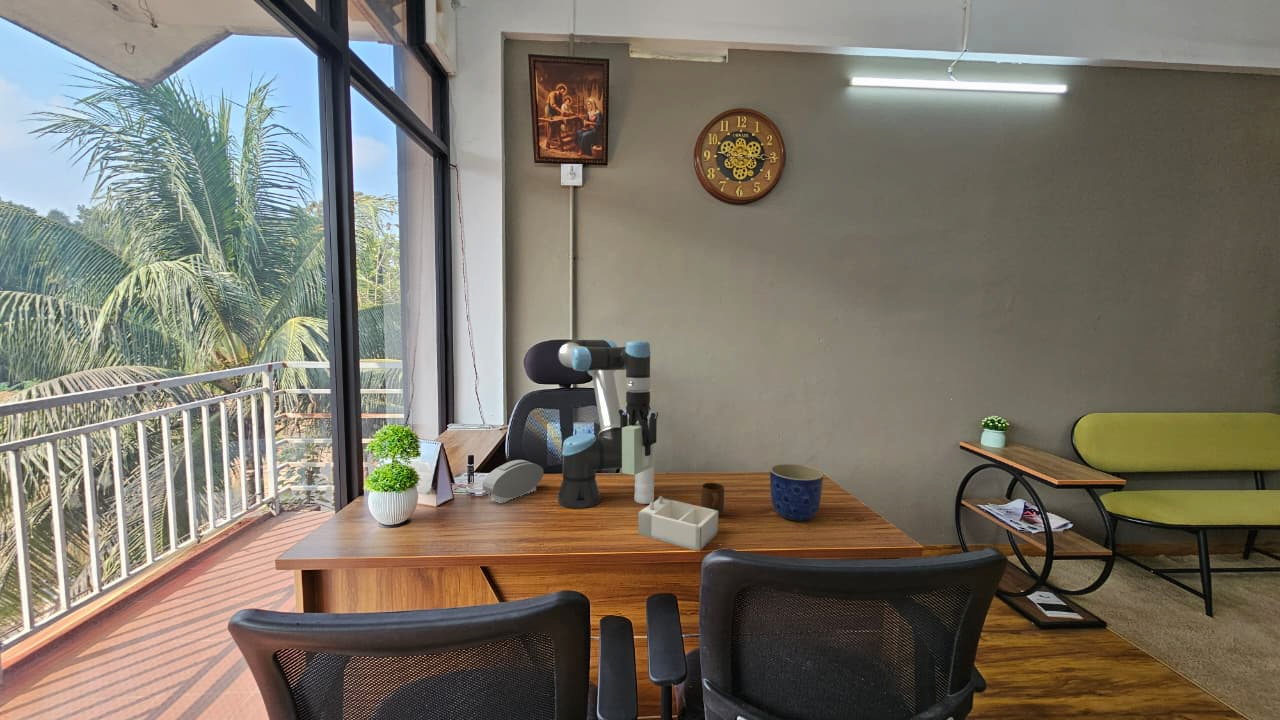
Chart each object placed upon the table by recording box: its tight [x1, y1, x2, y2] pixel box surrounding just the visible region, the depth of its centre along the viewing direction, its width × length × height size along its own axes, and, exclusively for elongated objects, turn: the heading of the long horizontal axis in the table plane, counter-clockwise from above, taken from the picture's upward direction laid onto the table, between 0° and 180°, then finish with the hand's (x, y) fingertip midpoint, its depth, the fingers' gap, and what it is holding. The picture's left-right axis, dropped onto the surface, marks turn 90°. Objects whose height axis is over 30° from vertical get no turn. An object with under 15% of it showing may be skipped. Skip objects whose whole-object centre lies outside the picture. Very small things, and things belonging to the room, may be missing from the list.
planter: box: [769, 463, 825, 522], centre depth 157 cm, size 17×17×15 cm
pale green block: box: [621, 422, 654, 476], centre depth 148 cm, size 4×11×14 cm, turn 147°
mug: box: [700, 482, 725, 518], centre depth 157 cm, size 12×8×9 cm, turn 0°
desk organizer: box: [637, 495, 719, 552], centre depth 143 cm, size 20×14×9 cm
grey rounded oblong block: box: [482, 459, 545, 503], centre depth 173 cm, size 23×6×13 cm, turn 144°
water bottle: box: [634, 449, 655, 505], centre depth 168 cm, size 7×7×25 cm
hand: (638, 464), depth 148 cm, fingers closed on pale green block, 4 cm apart
